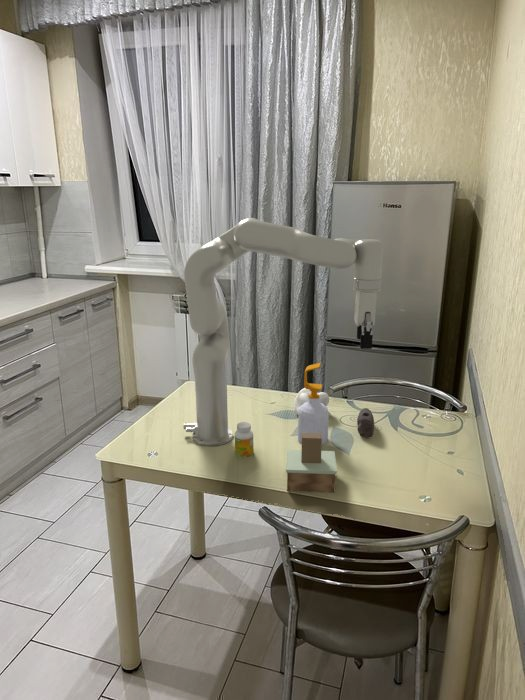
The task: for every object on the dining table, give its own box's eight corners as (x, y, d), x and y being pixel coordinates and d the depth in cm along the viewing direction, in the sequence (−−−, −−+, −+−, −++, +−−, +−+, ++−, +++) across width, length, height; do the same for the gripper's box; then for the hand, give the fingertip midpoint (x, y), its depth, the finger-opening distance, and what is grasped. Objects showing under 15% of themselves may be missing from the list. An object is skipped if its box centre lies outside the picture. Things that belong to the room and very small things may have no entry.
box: (287, 492, 134) (287, 471, 133) (288, 472, 144) (288, 452, 142) (334, 494, 134) (335, 473, 132) (332, 474, 143) (333, 454, 141)
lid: (286, 472, 132) (286, 444, 130) (287, 452, 143) (287, 425, 140) (336, 474, 132) (337, 445, 129) (334, 453, 142) (335, 427, 139)
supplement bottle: (232, 458, 152) (231, 427, 149) (239, 449, 157) (238, 419, 154) (249, 461, 150) (249, 430, 147) (256, 452, 155) (256, 422, 152)
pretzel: (285, 416, 180) (285, 391, 177) (306, 405, 189) (306, 382, 186) (312, 425, 173) (312, 399, 170) (332, 414, 182) (333, 389, 179)
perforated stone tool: (357, 420, 176) (358, 401, 174) (373, 421, 176) (374, 402, 173) (356, 440, 162) (357, 419, 160) (373, 442, 161) (375, 421, 159)
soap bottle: (326, 448, 158) (329, 370, 150) (296, 445, 159) (297, 368, 152) (328, 435, 166) (331, 360, 159) (300, 432, 168) (301, 358, 161)
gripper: (351, 279, 156) (348, 335, 161) (356, 290, 139) (353, 352, 144) (376, 279, 155) (373, 335, 160) (385, 290, 139) (381, 352, 144)
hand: (364, 343), depth 152 cm, fingers open, 9 cm apart
